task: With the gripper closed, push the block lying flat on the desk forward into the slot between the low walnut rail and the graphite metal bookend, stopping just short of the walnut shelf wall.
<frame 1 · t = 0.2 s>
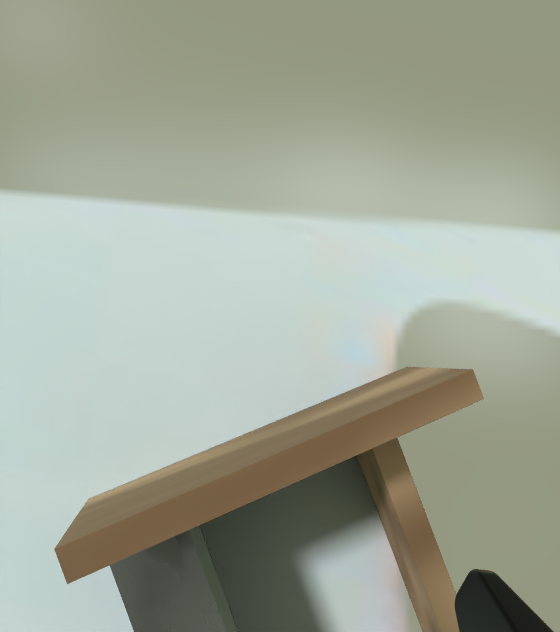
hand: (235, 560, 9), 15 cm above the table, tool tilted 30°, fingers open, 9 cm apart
shelf: (304, 553, 24), on the table
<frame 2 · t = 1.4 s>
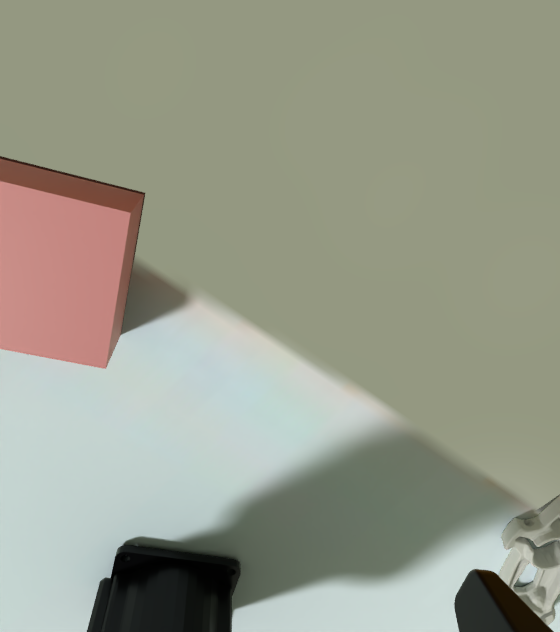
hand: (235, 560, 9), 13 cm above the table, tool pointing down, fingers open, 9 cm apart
block: (27, 242, 20), on the table
bracket: (554, 529, 30), on the table
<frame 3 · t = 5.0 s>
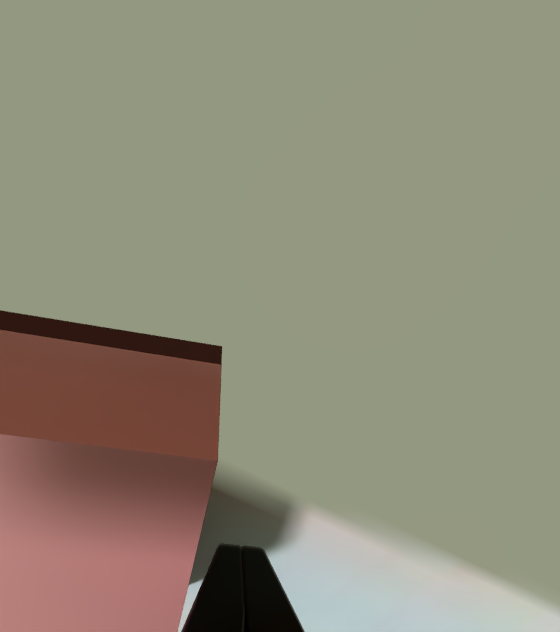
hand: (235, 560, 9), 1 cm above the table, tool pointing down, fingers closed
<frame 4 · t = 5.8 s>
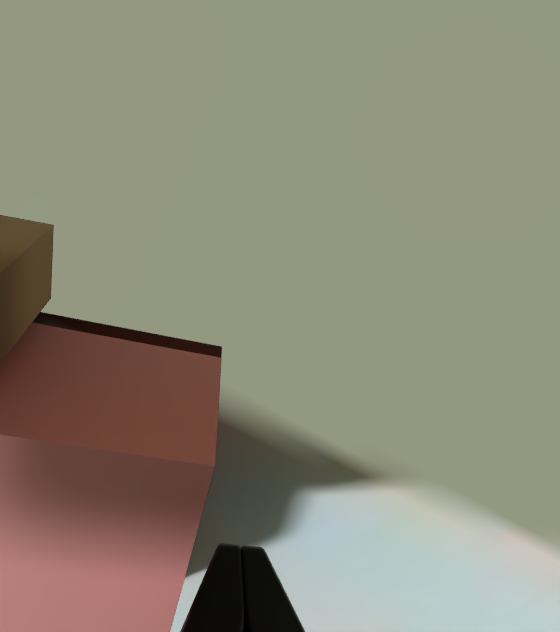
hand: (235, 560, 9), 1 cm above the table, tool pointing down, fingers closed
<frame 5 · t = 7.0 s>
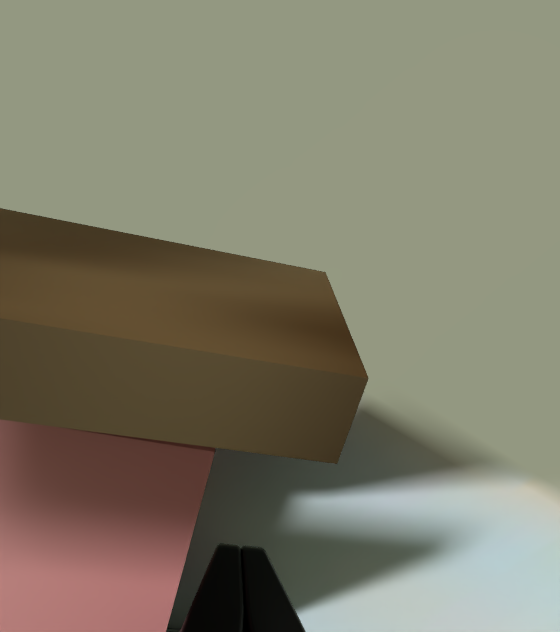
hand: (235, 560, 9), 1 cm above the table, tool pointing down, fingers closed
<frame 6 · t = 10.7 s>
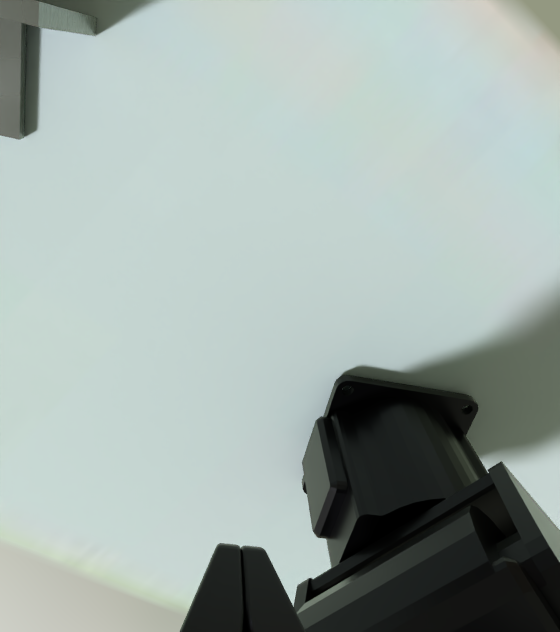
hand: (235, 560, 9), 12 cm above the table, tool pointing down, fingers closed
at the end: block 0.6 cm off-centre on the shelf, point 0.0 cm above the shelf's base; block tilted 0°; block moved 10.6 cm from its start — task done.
